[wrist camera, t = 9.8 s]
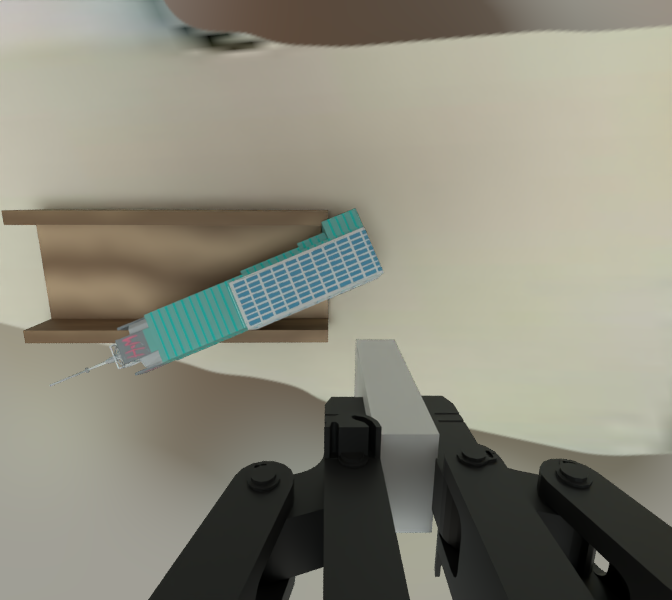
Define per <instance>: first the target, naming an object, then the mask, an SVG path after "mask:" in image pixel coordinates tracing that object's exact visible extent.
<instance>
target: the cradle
mask: <svg viewBox="0 0 672 600" xmlns="http://www.w3.org/2000/svg"><path fill="white" fill-rule="evenodd" d="M2 216H3V222H4V225H36V226H37V232H38V238H39V244H40V250H41V256H42V263H43V269H44V275H45V281H46V287H47V293H48V299H49V306H50V312H51V318H52V319H50V320H48V321H45V322H43V323H41V324H38V325H36V326H33V327H31V328H29V329H26V330H24V331H23V333H24V338H25V343H116V342H115V340H118V339H121V338H123V337H126V336H128V335H130V333H129V330H117V328H118V327H121V326H123V325H126V324H128V323H131V322H133V321H136V320H138V319H141V318H143V317H144V315H145V314H148V313H150V312H153V311H155V310H157V309H160V308H162V307H165V306H167V305H169V304H172V303H174V302H177V301H179V300H182V299H184V298H186V297H189V296H191V295H194V294H196V293H198V292H201V291H203V290H206V289H208V288H211V287H213V286H215V285H218V284H220V283H223V282H225V281H227V280H230V279H232V278H235V277H237V276H239V275H242V274H241V272H240V271H242V270H244V269H247V268H249V267H252V266H254V265H256V264H259V263H261V262H264V261H266V260H269V259H271V258H273V257H276V256H278V255H281V254H283V253H286V252H288V251H290V250H293V249H295V248H298V245H297V243H300V242H302V241H304V240H307V239H309V238H312V237H314V236H317V235H319V234H321V233H322V223H321V222H323V221H325V220H328V210H50V209H44V210H4V211H2ZM252 342H328V300H325V301H323V302H320V303H318V304H316V305H313V306H311V307H309V308H306V309H304V310H301V311H299V312H297V313H294V314H292V315H290V316H287V317H285V318H283V319H280V320H278V321H275V322H273V323H271V324H268V325H266V326H264V327H261V328H259V329H256V330H248V331H245V332H243V333H241V334H238V335H236V336H234V337H232V338H229V339H226V340H224V341H221V342H219V343H252Z"/></svg>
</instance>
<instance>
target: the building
mask: <svg viewBox="0 0 672 600" xmlns="http://www.w3.org/2000/svg"><path fill="white" fill-rule="evenodd" d="M321 223H322V233H321V234H319V235H317V236H314V237H312V238H309V239H307V240H304V241H302V242H300V243H297V245H298V248H295V249H293V250H290V251H288V252H286V253H283V254H281V255H278V256H276V257H273V258H271V259H269V260H266V261H264V262H261V263H259V264H256V265H254V266H252V267H249V268H247V269H244V270H242V271H240V272H241V274H242V275H239V276H237V277H235V278H232V279H230V280H227V281H225V282H223V283H220V284H218V285H215V286H213V287H211V288H208V289H206V290H203V291H201V292H198V293H196V294H194V295H191V296H189V297H186V298H184V299H182V300H179V301H177V302H174V303H172V304H169V305H167V306H165V307H162V308H160V309H157V310H155V311H153V312H150V313H148V314H145V315H144V317H143V318H141V319H138V320H136V321H133V322H131V323H128V324H126V325H123V326H121V327H118V328H117V330H129V333H130V335H128V336H126V337H123V338H121V339H118V340H115V342H116V343H115V344H117V345H115V344H113V345H111V346H109V347H110V350H111V352H112V355H113V357H110V358H109V359H107V360H106V361H105V362H102V363H100V364H98V365H95V366H93V367H91V368H85V370H84V371H82V372H80V373H77V374H75V375H72V376H70V377H68V378H65V379H63V380H60V381H58V382H56V383H53V384H51V385H50V386H52V385H55V384H57V383H60V382H62V381H64V380H67V379H69V378H72V377H74V376H76V375H79V374H81V373H84V372H87V373H88V372H89V370H91V369H94V368H96V367H99V366H101V365H104V364H106V363H113V362H116V365H117V367H118V369H121V368H126V367H130V366H132V365H134V364H137V363H139V362H142V363H143V365H144V366H145V367H148V368H146V369H144V370H141V371H139V372H136V373H135V375H139V374H143V373H147V372H149V371H151V370H154V369H156V368H158V367H161V366H163V365H166V364H168V363H170V362H172V361H174V360H179V359H182V358H184V357H186V356H189V355H191V354H193V353H196V352H198V351H200V350H203V349H205V348H208V347H210V346H213V345H215V344H217V343H219V342H221V341H224V340H226V339H229V338H232V337H234V336H236V335H238V334H241V333H243V332H245V331H248V330H256V329H259V328H261V327H264V326H266V325H268V324H271V323H273V322H275V321H278V320H280V319H283V318H285V317H287V316H290V315H292V314H294V313H297V312H299V311H301V310H304V309H306V308H309V307H311V306H313V305H316V304H318V303H320V302H323V301H325V300H328V299H330V298H332V297H335V296H337V295H339V294H342V293H344V292H346V291H349V290H351V289H354V288H356V287H358V286H361V285H363V284H365V283H368V282H370V281H373V280H375V279H377V278H378V277H379V276H380V275H382V274H383V273H384V272H383V270H382V267H381V265H380V263H379V261H378V258H377V256H376V254H375V251H374V249H373V247H372V244H371V242H370V240H369V237H368V235H367V232H366V230H365V228H364V227H363V225H362V222H361V220H360V218H359V215H358V213H357V211H356V209H355V208H354V209H352V210H350V211H347V212H345V213H342V214H340V215H337V216H335V217H333V218H330V219H328V220H325V221H323V222H321ZM112 346H115V353H116V349H117V348H118V349H119V350H118V349H117V353H118V354H116V355H115V353H113V351H112V348H111V347H112ZM119 352H120V354H119ZM120 359H121V362H122V360H123V362H124V364H123V362H122V364H123V365H122V364H121V363H120V362H119V361H118V360H120ZM137 359H139V360H137ZM135 360H137V361H135ZM117 361H118V362H119V363H120V364H121V365H122V367H120V368H119V366H118V363H117ZM133 361H134V362H135V363H134V362H133ZM138 361H139V362H138ZM130 362H132V363H130ZM129 363H130V364H129ZM125 364H127V365H125Z"/></svg>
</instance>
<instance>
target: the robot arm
mask: <svg viewBox="0 0 672 600" xmlns="http://www.w3.org/2000/svg"><path fill="white" fill-rule="evenodd" d="M433 515H434V518H435V521H436V524H437V527H438V534H437V546H436V557H435V577H439V576H440V567H441V565H442V567H443V570H444V573H445V576H446V579H447V583H448V586H449V589H450V593H451V596H452V599H453V600H672V527H671V526H669V525H668V524H666V523H665V522H664V521H662V520H661V519H660V518H658V517H657V516H656V515H654V514H653V513H652V512H650V511H649V510H648V509H646V508H645V507H643V506H642V505H641V504H639V503H638V502H637V501H635V500H634V499H633V498H631V497H630V496H629V495H627V494H626V493H624V492H623V491H622V490H620V489H619V488H618V487H616V486H615V485H614V484H612V483H611V482H610V481H608V480H607V479H605V478H604V477H603V476H602V475H600V474H599V473H597V472H596V471H594V470H592V469H591V468H589V467H587V466H585V465H583V464H580V463H577V462H576V461H572V460H567V459H550V460H547V461H544V462H543V463H542V465H541V466H540V470H539V475H537V474H532V473H527V472H522V471H517V470H513V469H509V468H507V466H506V465H505V464H504V462H503V461H502V459H501V458H500V457H499V456H498V455H497V454H496V452H495V451H493V450H491V449H489V448H487V447H486V446H483V445H480V444H478V443H477V442H476V440H475V438H474V437H473V435H472V434H471V432H470V430H469V429H468V427H467V425H466V424H465V422H463V419H462V417H461V416H460V415H459V412H458V411H457V409H456V407H455V406H454V404H453V403H451V402H450V401H449V400H447V399H446V398H444V397H443V396H421V394H420V392H419V390H418V388H417V386H416V384H415V382H414V380H413V378H412V375H411V373H410V371H409V369H408V367H407V365H406V363H405V361H404V359H403V357H402V354H401V352H400V350H399V348H398V346H397V344H396V342H395V340H372V339H356V353H355V394H354V397H331V398H330V399H329V401H328V402H327V403H326V404H325V427H324V457H323V459H322V460H321V462H320V463H319V464H318V465H317V466H315V467H313V468H312V469H310V470H308V471H305V472H302V473H298V474H293V473H292V471H291V469H289V468H288V467H287V466H286V465H284V464H281V463H278V462H274V461H262V462H258V463H253V464H251V465H249V466H247V467H245V468H243V469H241V470H240V471H239V472H238V474H236V475H235V477H234V478H233V479H232V481H231V482H230V484H229V485H228V487H227V488H226V490H225V491H224V492H223V494H222V495H221V497H220V498H219V499H218V501H217V502H216V504H215V505H214V507H213V508H212V510H211V511H210V512H209V514H208V515H207V517H206V518H205V519H204V521H203V522H202V524H201V525H200V527H199V528H198V529H197V531H196V532H195V534H194V535H193V537H192V538H191V539H190V541H189V543H188V544H187V545H186V547H185V548H184V549H183V551H182V552H181V554H180V555H179V557H178V558H177V559H176V561H175V562H174V564H173V565H172V567H171V568H170V569H169V571H168V572H167V574H166V575H165V577H164V578H163V579H162V581H161V582H160V584H159V585H158V587H157V588H156V589H155V591H154V592H153V594H152V595H151V597H150V598H149V599H148V600H289V597H290V595H291V592H292V589H293V586H294V582H295V576H297V575H300V574H303V573H306V572H309V571H312V570H315V569H318V568H322V567H324V571H323V572H324V573H323V575H324V576H323V578H324V579H323V600H410V598H409V594H408V589H407V584H406V579H405V574H404V569H403V564H402V560H401V555H400V550H399V545H398V540H397V536H396V533H414V532H415V533H418V532H419V533H421V532H422V533H423V532H425V533H427V532H432V521H433ZM596 550H597V551H598V552H599V553H600V554H601V555H602V556H603V557H604V558H605V559H606V560H607V561H608V562H609V568H608V571H607V573H606V572H604V571H603V570H601V569H600V568H599V567H598V566H597V565H596V564H595V563H594V559H595V554H596Z"/></svg>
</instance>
